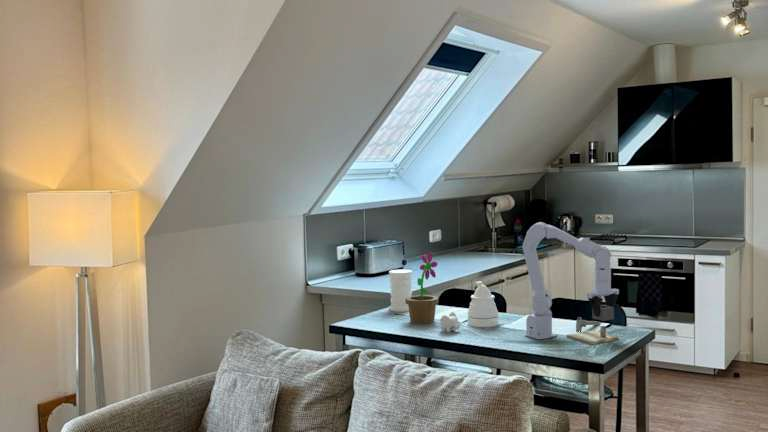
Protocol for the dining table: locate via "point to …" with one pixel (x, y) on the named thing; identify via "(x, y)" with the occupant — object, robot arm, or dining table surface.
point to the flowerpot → (423, 297)
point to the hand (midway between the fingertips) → (603, 315)
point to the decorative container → (400, 289)
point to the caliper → (584, 324)
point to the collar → (604, 313)
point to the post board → (593, 336)
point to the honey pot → (482, 308)
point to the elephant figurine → (449, 323)
